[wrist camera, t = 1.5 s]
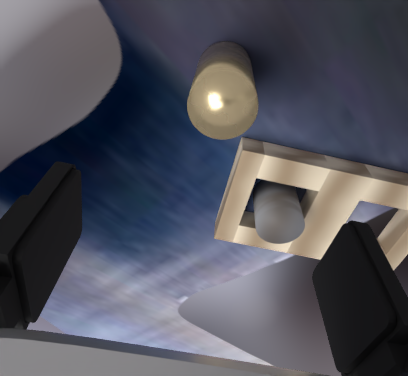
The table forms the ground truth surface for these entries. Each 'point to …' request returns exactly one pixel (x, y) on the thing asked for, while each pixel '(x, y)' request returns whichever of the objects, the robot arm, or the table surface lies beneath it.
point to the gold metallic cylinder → (223, 92)
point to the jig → (306, 200)
